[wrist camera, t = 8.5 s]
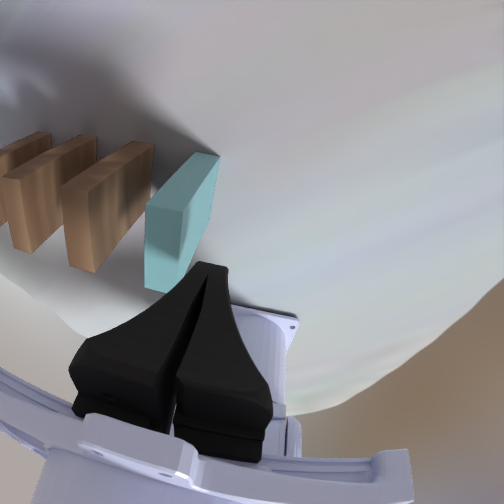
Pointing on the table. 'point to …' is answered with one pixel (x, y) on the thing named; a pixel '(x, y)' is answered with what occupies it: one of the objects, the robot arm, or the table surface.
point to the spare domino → (178, 221)
